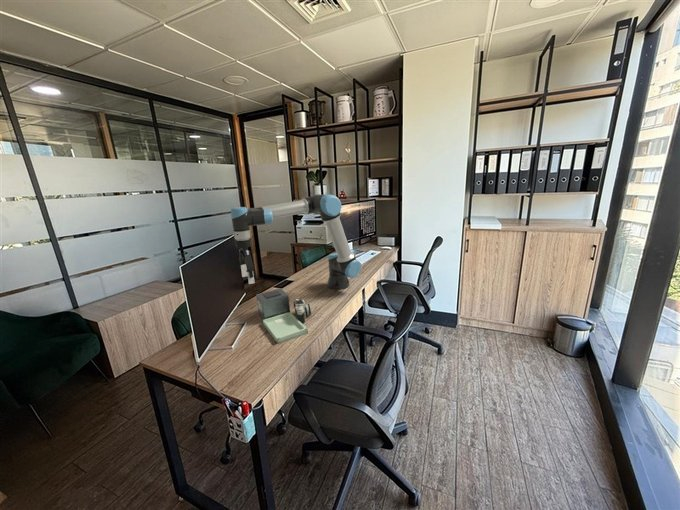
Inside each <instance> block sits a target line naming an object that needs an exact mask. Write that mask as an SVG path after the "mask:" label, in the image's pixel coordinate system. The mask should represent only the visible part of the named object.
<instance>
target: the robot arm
mask: <svg viewBox="0 0 680 510" xmlns="http://www.w3.org/2000/svg"><path fill="white" fill-rule="evenodd" d="M341 211H342V202H341V200H340V199H339V197H337V196H336V195H335V194H334V195H333V194H320V193H319V194H316V195H311V196H307V197H303V198H301V199H300V200H295V201H288V202H284V203H278V204H277V203H276V204H271V205H266V206H265V205H264V206H260V207H255V208H254V207H250V208H247V207H246V206H241V207H240V206H238V207H232V208H230V214H231V217H230V218H231V223H232V229H233V233H232V236H234V245H235V248H236V249H238V262H239V264H240V269H241V277H242V278H245V277H247V281H248V285H252V284H255V283H256V281H255V277H254V275H255V274H254V271H255V267H254V264H253V263H254V262H253V259H252V255H251V254H252V253H251V251H250V250H249V248H250V247H252V239H251V229H250V227H254V226H263V225H269V224H273V221H274V219H278V218H279V219H281V218H284V217H290V216H294V215H301V214H305V215H309V214H310V215H311V214H315V215H319V216H320V218H321V221H322V222H323V223H325V225H326V227H327V229H328V233H329V235H330V238H331V241H332V244H333V247H334V249H335V252H334V253H330V254H328V257H327V259H328V260H327V261H328V273H329V274H328V275H329V277H328V280H327V288H328V289H331V290H344V289H347V288H348V287H350V280H349V279H353V278H355V277H357V276H359V274H360V273H361V271H362V263H361V262H360V261H359V260H358V259H356V256H355V253H354V252H352V250H351V248H350V245H349V243H348V242H349V241H348V240H347V239H348V238H347V237H346V234H345V230H344V227H343V224H342V222H341V219H340V217H341V215H342V214H341ZM237 234H238V235H237Z"/></svg>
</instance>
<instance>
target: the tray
mask: <svg viewBox="0 0 680 510" xmlns="http://www.w3.org/2000/svg"><path fill="white" fill-rule="evenodd" d="M262 325H263V326H264V329H266V331H268V333H269V334H270V336H271V337H272V339H274V341H275V343H277V345H279V344H281V343H284V342H287V341H291V340H292V339H296V338H298V337H301V336H304V335H307V334H308V328H307V326H306V325H305V324H302V323H301V322H300V321H299V320H298V319H297V317H296V315H294V314H293V313H292V312H291V311H290V312H288V313H285V314H281V315H278V316H275V317H271V318H268V319H265V320H263V319H262Z"/></svg>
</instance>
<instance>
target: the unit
mask: <svg viewBox="0 0 680 510" xmlns="http://www.w3.org/2000/svg"><path fill="white" fill-rule="evenodd" d="M255 296H256V304H257V311H258V312H257V313H258V315H259V317H260V318H261V319H262V321H263V320H265V319H268V318H271V317H275V316H278V315H281V314H285V313H288V312H290V313H291V306H290V296H289V294H288V293H287V292H286V291H284V290H283V289H282V288H276V289H272V290H269V291H265V292H261V293H257V294H255Z"/></svg>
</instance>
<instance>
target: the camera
mask: <svg viewBox="0 0 680 510" xmlns="http://www.w3.org/2000/svg"><path fill="white" fill-rule="evenodd" d="M293 307H294V313H295V317H296V318H297V319H298V320H299V321H300V322H301V323H302V324H303V325H305V324H306V318H307V316H311V315H312V306H311V304H310V303H307V304H306V302H305V300H304V299H299V298H296V299H295V300H293Z"/></svg>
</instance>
